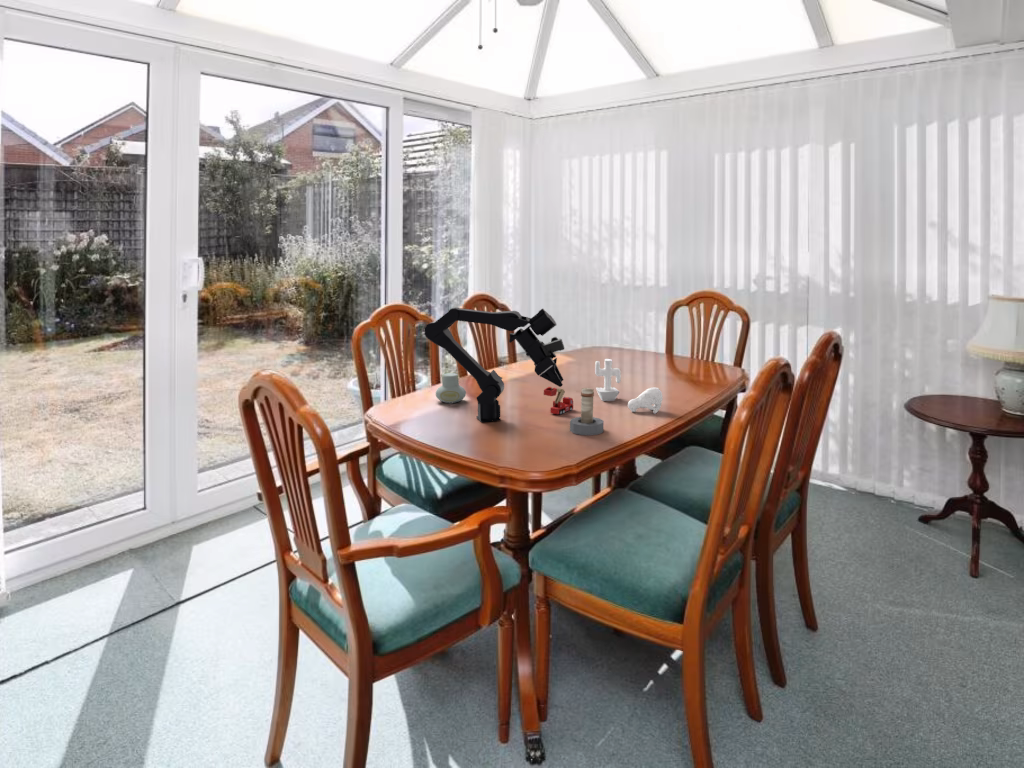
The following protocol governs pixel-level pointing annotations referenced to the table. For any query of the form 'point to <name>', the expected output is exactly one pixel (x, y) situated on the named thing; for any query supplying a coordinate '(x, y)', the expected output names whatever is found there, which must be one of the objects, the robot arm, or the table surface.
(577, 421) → the grey ring
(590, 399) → the birch peg
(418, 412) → the table surface
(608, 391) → the figurine
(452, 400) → the air freshener
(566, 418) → the table surface
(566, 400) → the toy fire truck
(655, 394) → the white animal statue
